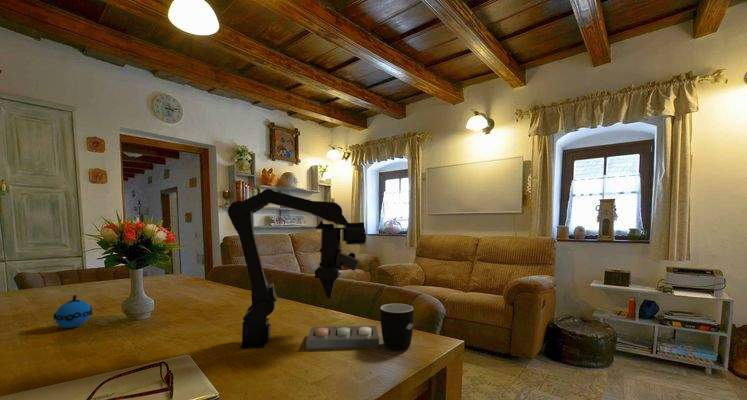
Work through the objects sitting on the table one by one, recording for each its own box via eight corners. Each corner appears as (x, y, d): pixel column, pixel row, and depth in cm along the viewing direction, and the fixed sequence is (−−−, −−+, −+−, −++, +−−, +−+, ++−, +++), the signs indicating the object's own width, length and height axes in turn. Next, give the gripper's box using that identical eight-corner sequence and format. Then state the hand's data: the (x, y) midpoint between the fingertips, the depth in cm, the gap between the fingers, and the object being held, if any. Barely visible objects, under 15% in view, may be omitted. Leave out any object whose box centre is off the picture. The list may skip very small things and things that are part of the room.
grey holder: (379, 348, 82) (379, 338, 82) (306, 349, 80) (306, 340, 80) (376, 334, 92) (376, 325, 92) (311, 335, 91) (311, 327, 91)
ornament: (88, 328, 97) (90, 296, 97) (49, 334, 92) (51, 299, 92) (92, 321, 104) (95, 291, 104) (57, 326, 99) (59, 294, 100)
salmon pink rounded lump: (314, 342, 84) (314, 332, 84) (316, 338, 87) (316, 327, 88) (327, 342, 84) (327, 331, 84) (328, 337, 88) (329, 327, 88)
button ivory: (358, 341, 85) (358, 331, 85) (358, 337, 88) (358, 326, 88) (371, 341, 85) (371, 331, 85) (371, 336, 88) (371, 326, 89)
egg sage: (336, 342, 84) (336, 331, 84) (337, 337, 88) (337, 327, 88) (349, 342, 84) (349, 331, 85) (350, 337, 88) (350, 327, 88)
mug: (409, 355, 77) (409, 313, 78) (375, 350, 80) (375, 310, 81) (419, 338, 88) (418, 302, 89) (388, 335, 91) (388, 299, 92)
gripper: (356, 247, 83) (355, 306, 82) (358, 243, 102) (357, 291, 100) (315, 246, 83) (313, 306, 81) (324, 242, 101) (322, 291, 100)
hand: (329, 298), depth 91 cm, fingers closed
